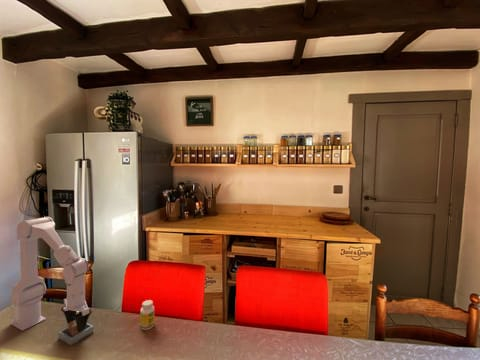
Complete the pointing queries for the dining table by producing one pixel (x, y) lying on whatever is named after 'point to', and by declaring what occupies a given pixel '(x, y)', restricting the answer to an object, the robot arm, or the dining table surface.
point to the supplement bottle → (147, 315)
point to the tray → (72, 340)
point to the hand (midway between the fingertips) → (76, 327)
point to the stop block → (72, 329)
